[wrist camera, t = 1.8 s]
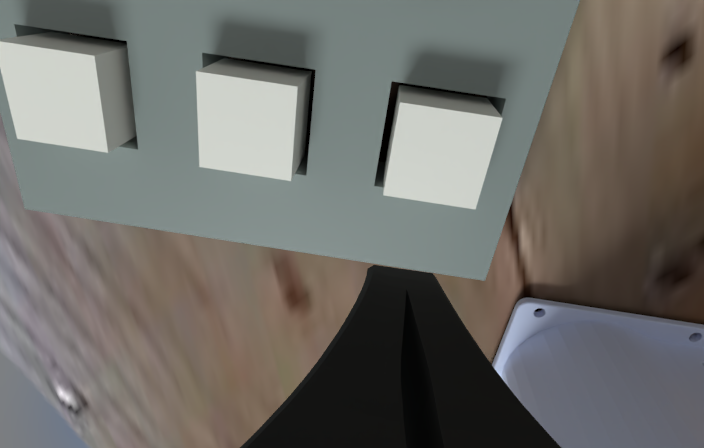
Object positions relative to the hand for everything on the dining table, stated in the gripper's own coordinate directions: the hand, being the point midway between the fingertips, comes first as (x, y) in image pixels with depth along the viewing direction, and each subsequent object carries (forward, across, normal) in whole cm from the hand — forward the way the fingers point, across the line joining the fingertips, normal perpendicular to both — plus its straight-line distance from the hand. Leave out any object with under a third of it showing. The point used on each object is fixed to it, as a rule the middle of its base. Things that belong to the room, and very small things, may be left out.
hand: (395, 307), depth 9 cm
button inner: (+8, -1, -1) cm, 8 cm away
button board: (+9, +5, -2) cm, 11 cm away
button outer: (+8, +11, -2) cm, 14 cm away
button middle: (+8, +5, -2) cm, 10 cm away
